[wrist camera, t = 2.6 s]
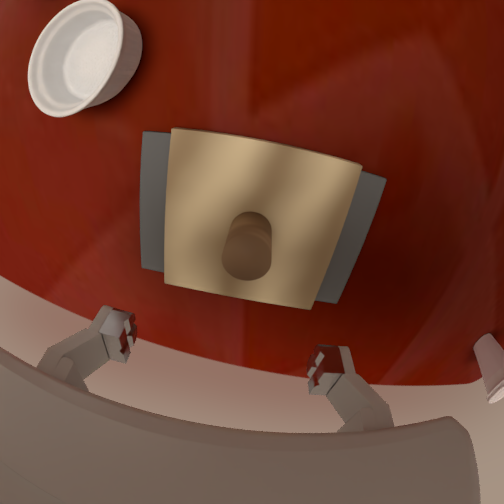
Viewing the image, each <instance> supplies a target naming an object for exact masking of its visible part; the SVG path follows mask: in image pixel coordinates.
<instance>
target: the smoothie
mask: <svg viewBox="0 0 504 504" xmlns="http://www.w3.org/2000/svg"><path fill="white" fill-rule="evenodd" d="M473 349H474V352H475V355H476V358H477V361H478V364H479V367H480V370H481V373H482V376H483V380H484V383H485V387H486V391H487V394H488V396H487V400H488V402H489V403H494V402H496V401H498V400H500V399H501V398H503V397H504V350H503V349H502V348H501V346H500V345H499V344H498V342H497V341H496V340H495V339H494V337H493V336H492V335H491V334H490V333H488V334H486V335H484V336H482V337H481V338H480V339H479V340H478V341H477V342H476V343H475V345H474V347H473Z"/></svg>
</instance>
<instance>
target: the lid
mask: <svg viewBox="0 0 504 504" xmlns="http://www.w3.org/2000/svg"><path fill="white" fill-rule="evenodd" d="M361 170H362V165H360V164H359V163H356V162H352V161H349V160H346V159H342V158H339V157H335V156H331V155H328V154H324V153H320V152H316V151H312V150H308V149H304V148H300V147H295V146H291V145H286V144H282V143H277V142H272V141H267V140H262V139H257V138H251V137H245V136H239V135H233V134H227V133H220V132H213V131H205V130H197V129H188V128H178V127H175V128H172V131H171V140H170V150H169V161H168V173H167V188H166V206H165V237H164V283H166V284H171V285H176V286H180V287H185V288H190V289H195V290H200V291H205V292H210V293H215V294H220V295H225V296H231V297H236V298H241V299H247V300H253V301H258V302H264V303H270V304H276V305H282V306H288V307H295V308H301V309H308V310H311V308H312V305H313V303H314V300H315V298H316V296H317V293H318V291H319V288H320V286H321V283H322V281H323V278H324V276H325V273H326V271H327V268H328V266H329V263H330V261H331V258H332V255H333V253H334V250H335V247H336V245H337V242H338V239H339V236H340V234H341V231H342V228H343V225H344V222H345V219H346V216H347V213H348V210H349V208H350V205H351V201H352V198H353V195H354V192H355V189H356V186H357V183H358V180H359V176H360V173H361Z"/></svg>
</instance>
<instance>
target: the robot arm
mask: <svg viewBox="0 0 504 504" xmlns="http://www.w3.org/2000/svg"><path fill="white" fill-rule="evenodd" d="M134 321H135V314H134V313H131V312H127V311H124V310H120V309H117V308H113V307H110V306H106V305H104V306H102V308H101V309H100V311H99V312H98V314H97V315H96V317H95V319H94V320H93V322H92V324H91V325H90V327H89V329H86V328H85V329H83V330H81V331H80V332H78V333H76V334H74V335H72V336H70V337H69V338H66V339H64V340H63V341H61V342H59V343H57V344H55V345H53V346H51V347H49V348H48V349H47V351H46V352H45V354H44V356H43V358H42V359H41V361H40V362H39V364H38V366H37V367H33V366H32V365H30V364H28V363H26V362H24V361H23V360H21V359H19V358H17V357H16V356H14V355H12V354H11V353H9V352H8V351H6V350H4V349H3V348H1V347H0V504H480V487H479V476H478V469H477V463H476V458H475V454H474V449H473V444H472V441H471V438H470V435H469V433H468V431H467V430H466V429H465V428H464V427H463V426H462V425H461V424H460V423H459V422H457V420H455V419H454V418H453V417H450V416H446V417H441V418H438V419H433V420H429V421H424V422H419V423H414V424H409V425H403V426H397V427H394V423H393V420H392V415H391V412H390V408H389V405H388V404H387V403H386V402H385V401H384V400H383V399H382V398H381V397H380V396H379V395H378V394H377V393H376V392H375V391H374V390H373V389H372V388H371V387H370V386H369V385H368V384H367V382H366V381H365V380H364V379H363V378H362V377H361V376H360V375H359V374H356V373H355V369H354V365H353V361H352V357H351V353H350V350H349V348H348V347H346V346H332V345H319V344H317V345H316V346H315V348H314V354H312V355H310V357H309V359H308V363H307V375H308V376H309V377H310V380H309V382H308V386H309V394H314V395H326V397H327V398H328V399H329V401H330V402H331V404H332V405H333V406H334V408H335V409H336V411H337V412H338V414H339V415H340V416H341V418H342V419H343V421H344V422H345V424H344V425H343V426H342V427H341V428H340V429H339V430H338V431H337V433H279V432H263V431H251V430H242V429H233V428H226V427H219V426H212V425H206V424H200V423H195V422H190V421H185V420H180V419H176V418H171V417H167V416H163V415H159V414H155V413H151V412H147V411H143V410H140V409H137V408H134V407H130V406H127V405H124V404H121V403H118V402H115V401H112V400H109V399H106V398H103V397H101V396H98V395H95V394H92V393H90V392H89V391H88V388H87V386H86V384H85V383H84V381H83V380H84V379H85V378H86V377H87V376H89V375H90V374H92V373H93V372H94V371H95V370H97V369H98V368H100V367H101V366H102V365H103V364H105V363H106V362H107V361H109V359H111V360H115V361H118V362H122V363H126V362H127V360H128V357H129V355H130V353H131V352H130V347H132V346H133V345H134V343H135V341H136V337H137V326H136V325H135V324H134Z"/></svg>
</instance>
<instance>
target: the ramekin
mask: <svg viewBox="0 0 504 504" xmlns="http://www.w3.org/2000/svg"><path fill="white" fill-rule="evenodd" d="M141 53H142V37H141V33H140V30H139V29H138V26H137V25H136V24H135V22H134V21H133V20H132V19H130V18H129V17H128V16H127V15H125V14H123V13H122V12H120V11H119V10H118V9H117V8H116V7H115V6H114V5H113V4H112V3H110V2H109V1H107V0H80V1H77V2H75V3H73V4H71V5H69V6H67V7H66V8H64V9H63V10H62V11H60V12H59V13H58V14H57V15H56V16H55V17H54V18H53V19H52V20H51V21H50V22H49V23H48V24H47V26H46V27H45V28H44V30H43V31H42V33H41V35H40V36H39V38H38V40H37V42H36V44H35V46H34V49H33V52H32V55H31V58H30V62H29V68H28V84H29V90H30V94H31V97H32V99H33V101H34V102H35V104H36V105H37V107H38V108H39V109H40V110H41V111H42V112H44V113H46V114H48V115H50V116H54V117H65V116H69V115H72V114H75V113H77V112H79V111H81V110H83V109H85V108H88V107H92V106H95V105H98V104H101V103H103V102H105V101H108V100H109V99H111V98H113V97H114V96H116V95H117V94H118V93H119V92H120V91H121V90H122V89H123V88H124V87H125V85H126V84H127V83H128V82H129V80H130V79H131V78H132V76H133V75H134V73H135V71H136V69H137V67H138V65H139V62H140V58H141Z"/></svg>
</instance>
